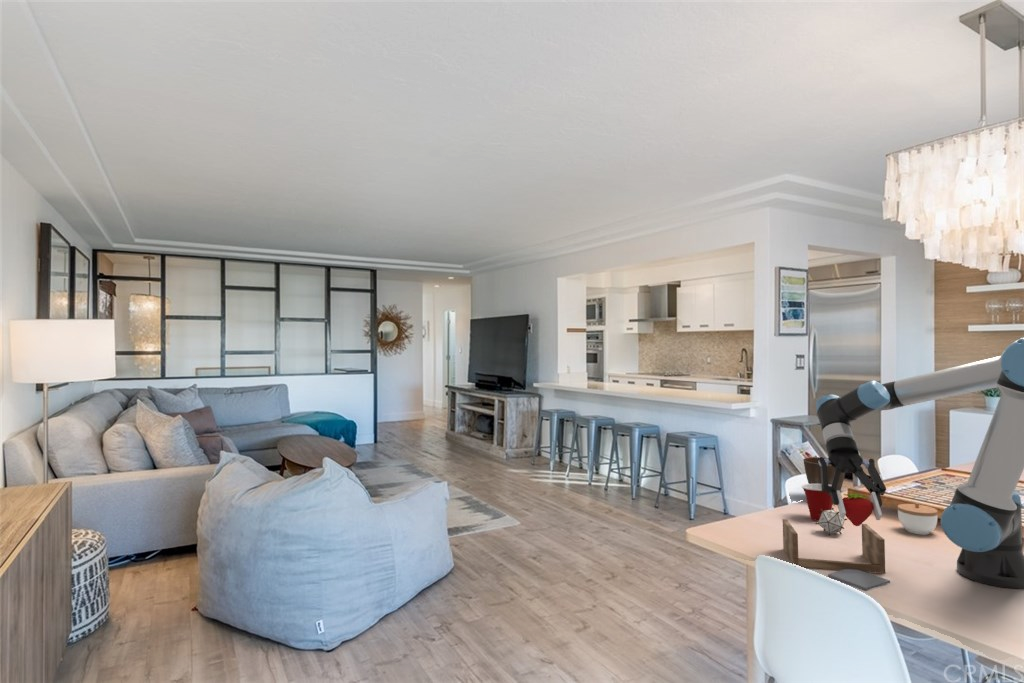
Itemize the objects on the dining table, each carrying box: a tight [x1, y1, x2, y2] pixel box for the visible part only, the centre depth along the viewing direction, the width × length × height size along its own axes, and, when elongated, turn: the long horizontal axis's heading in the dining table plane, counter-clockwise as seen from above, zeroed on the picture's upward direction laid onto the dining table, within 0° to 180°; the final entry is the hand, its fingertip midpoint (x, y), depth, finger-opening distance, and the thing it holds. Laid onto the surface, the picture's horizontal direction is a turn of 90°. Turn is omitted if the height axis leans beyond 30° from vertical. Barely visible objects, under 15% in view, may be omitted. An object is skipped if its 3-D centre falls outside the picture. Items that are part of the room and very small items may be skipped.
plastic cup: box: [801, 483, 833, 522], centre depth 198 cm, size 11×11×12 cm
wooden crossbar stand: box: [782, 518, 886, 574], centre depth 160 cm, size 14×22×9 cm, turn 75°
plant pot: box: [802, 456, 846, 505], centre depth 221 cm, size 15×15×16 cm
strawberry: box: [842, 490, 874, 527], centre depth 147 cm, size 6×8×10 cm
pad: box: [827, 568, 891, 591], centre depth 146 cm, size 10×10×1 cm
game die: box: [814, 507, 848, 536], centre depth 183 cm, size 9×8×10 cm
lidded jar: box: [897, 502, 939, 536], centre depth 183 cm, size 11×11×9 cm
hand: (861, 516), depth 143 cm, fingers closed on strawberry, 7 cm apart
